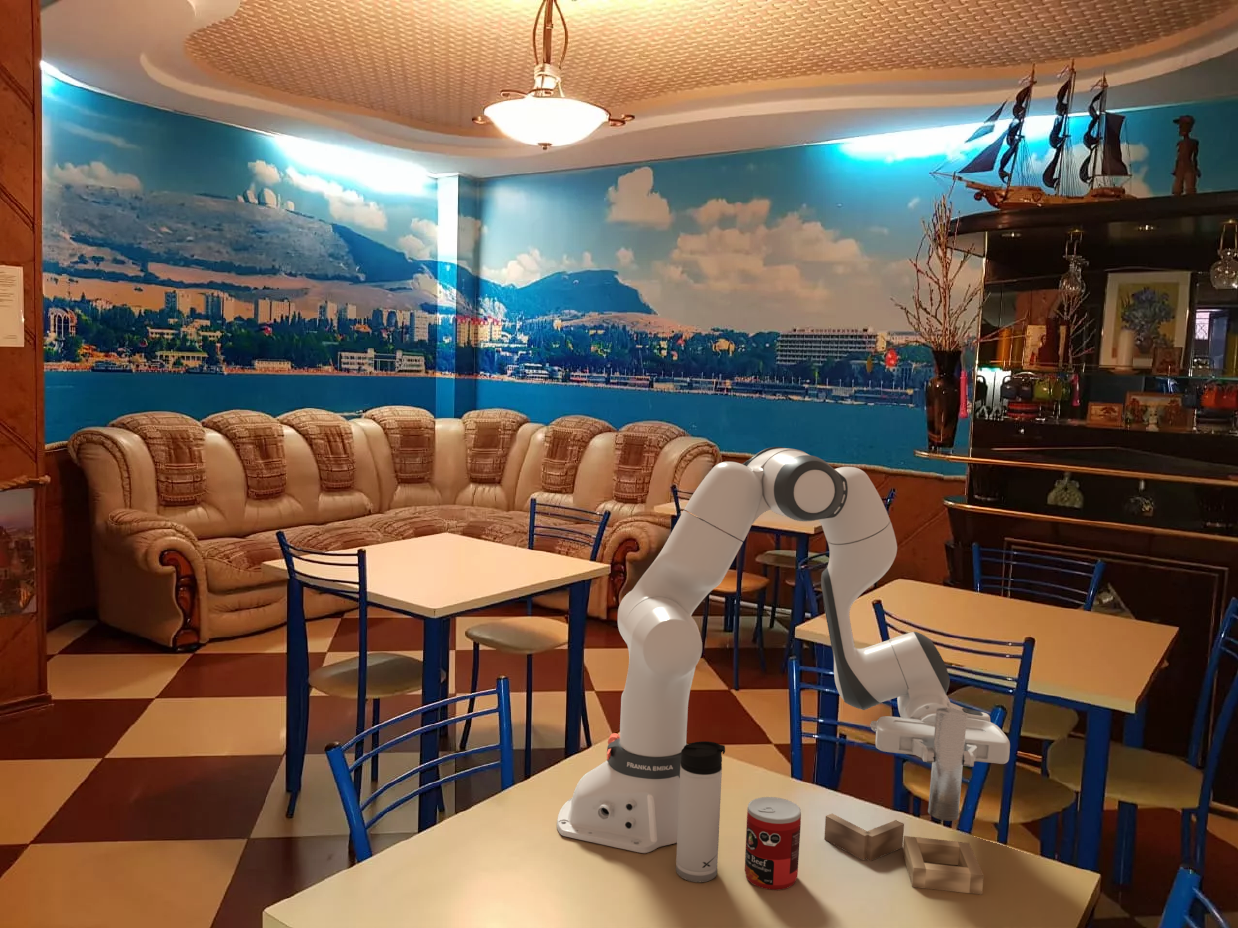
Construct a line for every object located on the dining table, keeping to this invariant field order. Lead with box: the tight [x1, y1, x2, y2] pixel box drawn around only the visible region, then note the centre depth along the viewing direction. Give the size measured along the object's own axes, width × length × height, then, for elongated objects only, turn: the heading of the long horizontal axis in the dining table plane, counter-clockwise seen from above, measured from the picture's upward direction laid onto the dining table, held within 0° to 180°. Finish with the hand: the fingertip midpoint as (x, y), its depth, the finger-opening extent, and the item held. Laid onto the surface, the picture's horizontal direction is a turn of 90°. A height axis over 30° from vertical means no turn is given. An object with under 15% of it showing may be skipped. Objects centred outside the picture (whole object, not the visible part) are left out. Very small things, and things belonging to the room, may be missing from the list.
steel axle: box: [927, 708, 967, 822], centre depth 143 cm, size 4×4×16 cm
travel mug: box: [675, 740, 726, 883], centre depth 142 cm, size 6×7×20 cm
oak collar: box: [902, 835, 984, 896], centre depth 145 cm, size 10×10×3 cm
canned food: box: [744, 796, 802, 891], centre depth 141 cm, size 8×8×11 cm
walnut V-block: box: [824, 813, 905, 862], centre depth 151 cm, size 12×7×4 cm, turn 81°
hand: (949, 759), depth 142 cm, fingers closed on steel axle, 4 cm apart
